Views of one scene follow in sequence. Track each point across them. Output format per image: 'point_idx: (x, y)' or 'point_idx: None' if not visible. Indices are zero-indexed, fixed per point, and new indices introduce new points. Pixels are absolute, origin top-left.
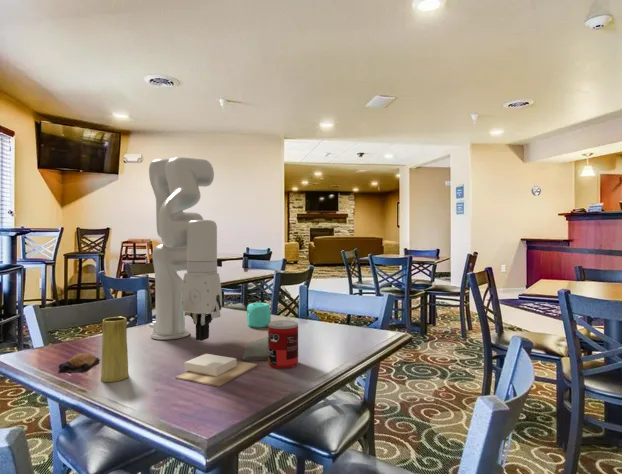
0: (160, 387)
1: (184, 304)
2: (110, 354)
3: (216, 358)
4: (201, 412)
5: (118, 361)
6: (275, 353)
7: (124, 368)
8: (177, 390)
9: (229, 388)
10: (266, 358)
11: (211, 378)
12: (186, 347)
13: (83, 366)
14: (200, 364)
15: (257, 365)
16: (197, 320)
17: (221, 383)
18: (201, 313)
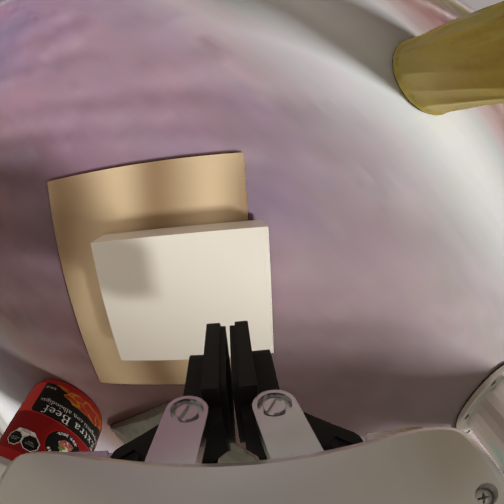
0: (219, 64)
1: (448, 493)
2: (461, 17)
3: (182, 330)
4: (4, 52)
5: (433, 39)
6: (36, 403)
7: (415, 66)
8: (141, 79)
9: (24, 193)
10: (122, 423)
11: (106, 212)
12: (423, 383)
13: None
14: (177, 240)
15: (101, 379)
16: (255, 421)
17: (50, 197)
18: (125, 460)
